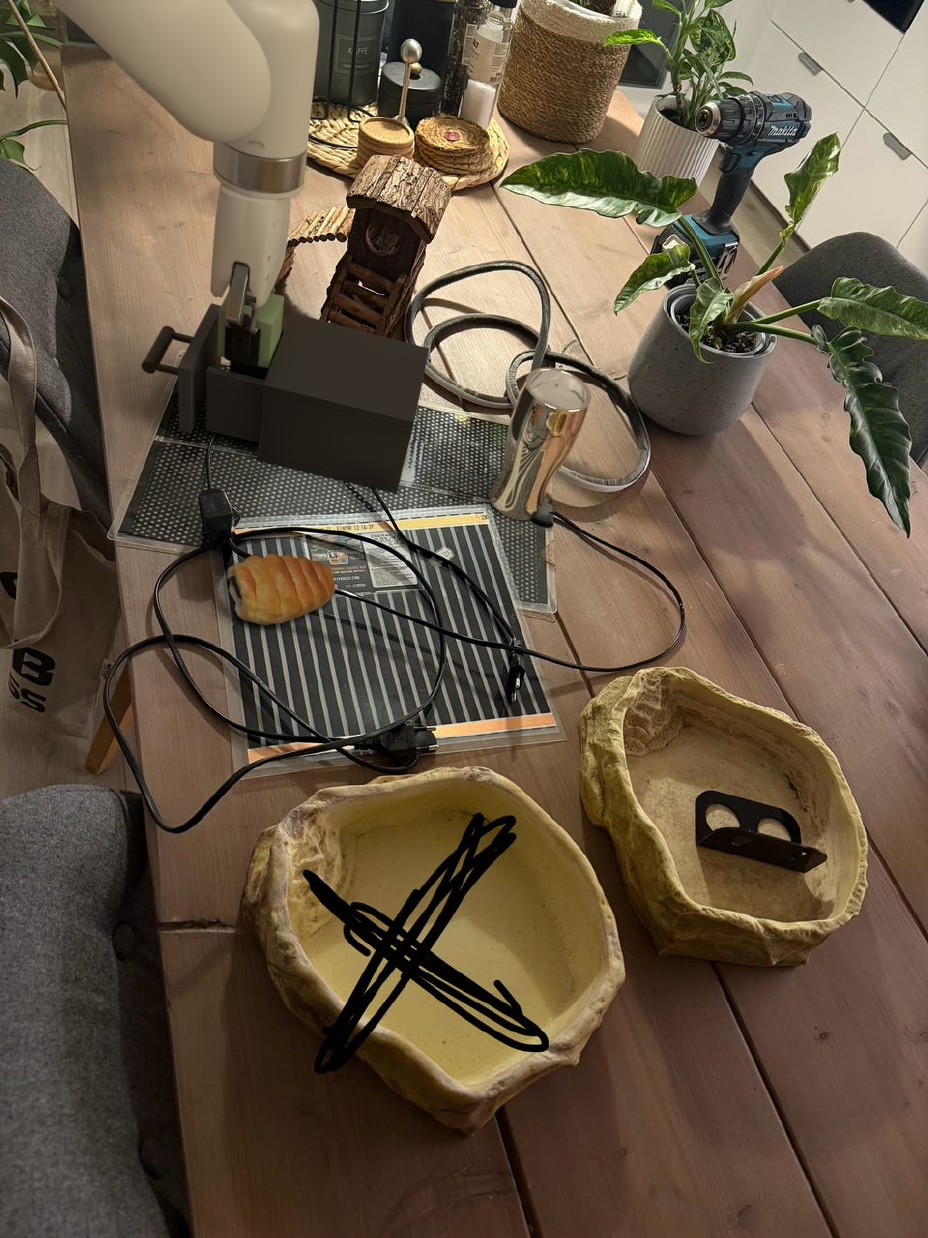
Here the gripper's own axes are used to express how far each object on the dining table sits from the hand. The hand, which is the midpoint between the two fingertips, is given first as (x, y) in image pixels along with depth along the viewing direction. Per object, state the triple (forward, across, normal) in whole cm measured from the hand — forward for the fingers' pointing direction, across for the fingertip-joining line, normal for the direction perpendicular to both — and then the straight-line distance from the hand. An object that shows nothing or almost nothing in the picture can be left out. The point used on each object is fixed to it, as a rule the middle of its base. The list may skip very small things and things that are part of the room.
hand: (248, 343), depth 87 cm
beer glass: (+9, +3, +30) cm, 32 cm away
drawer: (+8, 0, -1) cm, 8 cm away
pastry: (+9, +23, +9) cm, 26 cm away
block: (0, 0, 0) cm, 0 cm away
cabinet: (+9, 0, +10) cm, 14 cm away
